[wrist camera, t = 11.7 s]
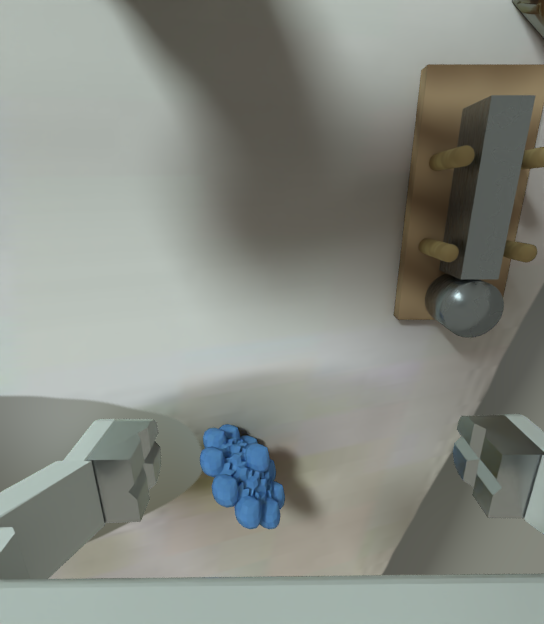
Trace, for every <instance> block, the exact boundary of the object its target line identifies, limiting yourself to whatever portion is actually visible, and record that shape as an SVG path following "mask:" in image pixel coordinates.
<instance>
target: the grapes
mask: <svg viewBox="0 0 544 624" xmlns="http://www.w3.org/2000/svg"><path fill="white" fill-rule="evenodd" d="M203 442H204V446H205V449H204V450H202V452H201V455H200V465H201V468H202V470H203V472H204V473H205V474H207V475H208V476H211V477H215V478H214V480H213V484H212V493H213V496H214V499H215V500H216V502H217V503H219V504H220V505H221V506H224V507H233V506H234V505H235V515H236V518H237V521H238V522H239V523H240V524H241V525H242V526H243V527H245V528H248V529H254V528H257V527H258V525H259V524H260V525H261V526H263V527H264V528H267V529H274V528H276V527H277V525H278V524H279V521H280V510H279V509H281V508H282V507H283V505H284V501H285V495H284V489H283V486H282V485H281V484H279V483H278V482H276V481H274V480H275V477H276V468H275V464H274V461H273V460H271V459H270V457H269V452H268V449H267V447H265V446H263V445H261V444H258V442H257V439H255V438H253V437H251V436H247V435H245V436H241V437H240V433H239V430H238V428H237V427H235V426H233V425H229V424H226V425H222V426H221V427H220V428H219V429H217V428H209V429H208V430H207V431H205V433H204V436H203Z"/></svg>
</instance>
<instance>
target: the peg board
mask: <svg viewBox="0 0 544 624" xmlns="http://www.w3.org/2000/svg"><path fill="white" fill-rule="evenodd" d="M491 95H536V96H535V101H534V106H533V111H532V116H531V121H530V126H529V131H528V136H527V141H526V145H525V150H524V155H523V160H522V165H521V170H520V175H519V180H518V185H517V190H516V195H515V200H514V205H513V210H512V215H511V220H510V224H509V229H508V234H507V239H506V244H505V249H504V254H503V259H502V264H501V269H500V274H499V279H479V280H482V281H484V282H487V283H490V284H492V285H493V286H495V287H496V288H497V289H498V290H499V291H500V293H501V295H502V297H503V295H504V290H505V286H506V281H507V276H508V271H509V267H510V262H511V259H514V260H518V261H522V262H530V261H532V260H533V259H534V258H535V257H536V255H537V248H536V247H535V246H534V245H531V244H526V243H520V242H515V238H516V233H517V228H518V224H519V219H520V214H521V209H522V205H523V200H524V195H525V190H526V186H527V181H528V176H529V171H530V169H531V168H539V167H544V147H540V148H535V149H534V147H535V143H536V138H537V133H538V128H539V124H540V119H541V114H542V109H543V105H544V65H427V66H426V67H425V68H424V69H422V70H421V78H420V87H419V96H418V105H417V114H416V122H415V131H414V140H413V149H412V158H411V167H410V176H409V184H408V193H407V202H406V211H405V220H404V229H403V238H402V247H401V255H400V264H399V273H398V282H397V291H396V300H395V309H394V316H395V317H396V318H397V319H398V320H436V319H434V318H433V317H432V316H431V315H430V314H429V313H428V311H427V309H426V306H425V295H426V292H427V290H428V288H429V286H430V285H431V283H432V282H433V281H434V280H435V279H437V278H438V277H440V276H441V275H443V274H446V273H445V272H442V271H440V270H439V266H440V260H442V261H445V262H452V261H454V260H455V259H456V258H457V256H458V254H459V250H458V248H457V247H456V246H455V245H453V244H449V243H445V242H443V239H444V232H445V225H446V219H447V212H448V205H449V198H450V192H451V185H452V178H453V171H454V168H458V167H464V166H467V165H469V164H470V163H471V162H472V161H473V159H474V155H475V153H474V150H473V148H472V147H471V146H468V145H465V146H461V147H457V144H458V138H459V131H460V124H461V117H462V111H463V109H464V108H466V107H468V106H470V105H472V104H474V103H476V102H478V101H481V100H483V99H485V98H487V97H489V96H491Z"/></svg>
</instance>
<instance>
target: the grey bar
mask: <svg viewBox="0 0 544 624" xmlns="http://www.w3.org/2000/svg"><path fill="white" fill-rule="evenodd" d="M535 96H536V95H491V96H489V97H487V98H485V99H483V100H481V101H478V102H476V103H474V104H472V105H470V106H468V107H466V108H464V109H463V111H462V117H461V124H460V131H459V138H458V144H457V147H461V146H465V145H468V146H471V147H472V148H473V150H474V153H475V155H474V159H473V161H472V162H471V163H470V164H469V165H467V166H464V167H458V168H454V171H453V178H452V185H451V192H450V198H449V205H448V212H447V219H446V225H445V232H444V239H443V242H445V243H449V244H453V245H455V246H456V247H457V248H458V250H459V254H458V256H457V258H456V259H455V260H454V261H452V262H445V261H442V260H440V266H439V270H440V271H442V272H445V273H446V274H443V275H441V276H440V277H438V278H437V279H435V280H434V281H433V282H432V283H431V285H430V286H429V288H428V290H427V292H426V295H425V306H426V309H427V311H428V313H429V314H430V315H431V316H432V317H433V318H434V319H436V320H437V321H438V322H440V323H441V324H442V325H444V326H445V327H446V328H448V329H449V330H450V331H452V332H453V333H455V334H456V335H458V336H461V337H476V336H480V335H482V334H484V333H486V332H488V331H489V330H491V329H492V328H493V327H494V326H495V325H496V324H497V322H498V321H499V319H500V318H501V315H502V312H503V308H504V302H503V297H502V295H501V293H500V291H499V290H498V289H497V288H496V287H495V286H493V285H492V284H490V283H487V282H484V281H482V280H479V279H499V274H500V269H501V264H502V259H503V254H504V249H505V244H506V239H507V234H508V229H509V224H510V220H511V215H512V210H513V205H514V200H515V195H516V190H517V185H518V180H519V175H520V170H521V165H522V160H523V155H524V150H525V145H526V141H527V136H528V131H529V126H530V121H531V116H532V111H533V106H534V101H535Z"/></svg>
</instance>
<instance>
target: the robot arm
mask: <svg viewBox="0 0 544 624" xmlns="http://www.w3.org/2000/svg"><path fill="white" fill-rule="evenodd" d="M457 430H458V432H459V433H460V435H461V437H460V438H459V439H458V440H457V441H456V442H455V443H454V450H453V458H454V464H455V467H456V469H457V472H458V474H459V475H460V477H461V478H462V480H463V481H464V482H466V483H467V484H469V485H470V486H472V487H473V488H474V489H473V496H474V498H475V499H476V501H477V502H478V504H479V505H480V507H481V508H482V510H483V511H484V513H485V514H486V516H487V517H488V518H524V520H525V521H526V522H527V523H529V524H530V525H531V526H533V527H534V528H535V529H537V530H538V531H539V532H541V533H542V534H543V535H544V432H543V431H542V430H541V429H540V428H539V427H538V426H537V425H535V424H534V423H533V422H532V421H531V420H529V419H528V418H527V417H526V416H524V415H521V414H503V415H485V416H484V415H483V416H461V418H460V420H459V421H458V426H457ZM157 435H158V428H157V423H156V421H155V420H154V419H99V420H96V421H94V422H93V424H92V425H91V426H90V427H89V428H88V430H87V431H86V432H85V434H84V435H83V436H82V437H81V439H80V440H79V441H78V442H77V444H76V445H75V446H74V447H73V449H72V450H71V451H70V452H69V454H68V455H67V456H66V458H65V459H64V460H63V461H56V462H54V463H52V464H51V465H49V466H47V467H45V468H43V469H42V470H40V471H38V472H37V473H34V474H33V475H31V476H29V477H27V478H25V479H24V480H22V481H20V482H18V483H16V484H15V485H13V486H11V487H9V488H7V489H6V490H4V491H2V492H0V624H544V574H467V575H465V574H462V575H362V576H276V577H187V578H96V579H48V578H49V577H51V576H52V575H53V574H54V573H55V572H56V571H57V570H58V569H59V568H60V567H61V566H62V565H63V564H64V563H65V562H66V561H67V560H69V559H70V558H71V557H72V556H73V555H74V554H75V553H76V552H77V551H78V550H79V549H80V548H81V547H82V546H83V545H84V544H85V543H87V542H88V541H89V540H90V539H91V538H92V537H93V536H94V535H95V534H96V533H97V532H98V531H99V530H100V529H101V528H102V527H103V526H105V523H117V522H141V519H142V517H143V515H144V512H145V510H146V507H147V505H148V502H149V500H150V496H149V489H150V488H152V487H153V486H154V485H155V484H156V482H157V479H158V477H159V473H160V467H161V449H160V446H159V445H158V444H157V443H156V442H155V439H156V437H157Z"/></svg>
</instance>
